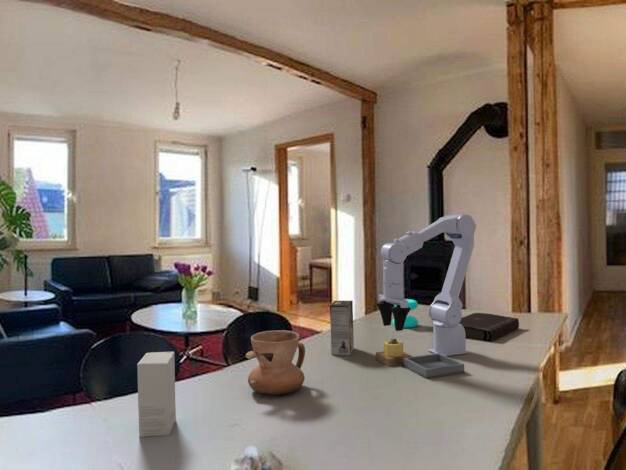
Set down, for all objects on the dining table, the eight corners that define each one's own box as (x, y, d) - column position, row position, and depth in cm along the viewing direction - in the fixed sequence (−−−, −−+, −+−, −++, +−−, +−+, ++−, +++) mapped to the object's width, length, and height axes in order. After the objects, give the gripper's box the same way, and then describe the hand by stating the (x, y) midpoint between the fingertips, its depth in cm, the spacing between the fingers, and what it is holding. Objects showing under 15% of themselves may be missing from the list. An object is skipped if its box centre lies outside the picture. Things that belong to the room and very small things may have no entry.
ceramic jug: (263, 406, 118) (261, 346, 117) (233, 390, 129) (232, 336, 129) (323, 388, 129) (321, 334, 128) (290, 375, 140) (289, 325, 140)
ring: (397, 350, 155) (396, 339, 155) (406, 355, 150) (405, 343, 150) (381, 352, 153) (381, 341, 153) (389, 357, 148) (389, 345, 148)
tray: (439, 361, 150) (439, 353, 150) (464, 372, 139) (464, 364, 138) (403, 366, 146) (403, 357, 146) (426, 378, 135) (426, 369, 134)
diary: (519, 330, 188) (519, 317, 188) (492, 344, 170) (492, 330, 169) (472, 323, 201) (472, 311, 200) (442, 335, 182) (442, 322, 182)
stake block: (398, 355, 157) (398, 335, 156) (412, 362, 149) (411, 341, 149) (375, 358, 154) (375, 337, 154) (388, 366, 146) (387, 344, 146)
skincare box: (148, 421, 111) (145, 352, 110) (178, 419, 111) (175, 350, 111) (138, 438, 103) (135, 363, 102) (171, 436, 103) (168, 361, 102)
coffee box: (335, 347, 168) (334, 300, 168) (354, 348, 167) (353, 300, 167) (330, 355, 160) (329, 305, 159) (350, 355, 158) (349, 305, 158)
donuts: (390, 298, 203) (415, 298, 203) (390, 323, 203) (415, 322, 203) (394, 303, 193) (420, 302, 193) (394, 328, 193) (420, 328, 193)
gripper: (370, 280, 156) (370, 324, 157) (392, 286, 143) (392, 334, 143) (390, 279, 159) (390, 322, 159) (414, 285, 145) (414, 332, 145)
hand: (393, 327), depth 151 cm, fingers open, 7 cm apart
